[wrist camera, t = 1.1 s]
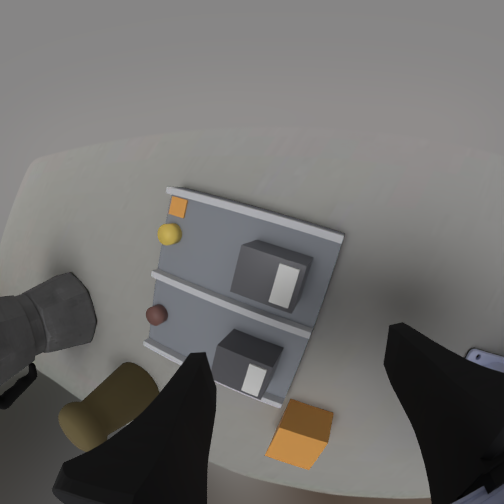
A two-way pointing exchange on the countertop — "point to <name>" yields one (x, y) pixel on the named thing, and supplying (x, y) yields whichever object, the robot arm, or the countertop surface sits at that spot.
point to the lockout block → (300, 435)
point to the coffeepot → (41, 327)
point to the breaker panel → (220, 280)
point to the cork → (108, 406)
